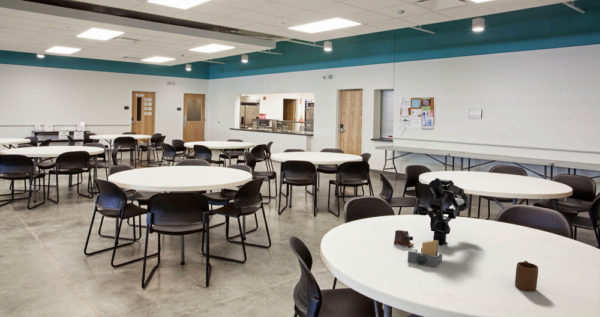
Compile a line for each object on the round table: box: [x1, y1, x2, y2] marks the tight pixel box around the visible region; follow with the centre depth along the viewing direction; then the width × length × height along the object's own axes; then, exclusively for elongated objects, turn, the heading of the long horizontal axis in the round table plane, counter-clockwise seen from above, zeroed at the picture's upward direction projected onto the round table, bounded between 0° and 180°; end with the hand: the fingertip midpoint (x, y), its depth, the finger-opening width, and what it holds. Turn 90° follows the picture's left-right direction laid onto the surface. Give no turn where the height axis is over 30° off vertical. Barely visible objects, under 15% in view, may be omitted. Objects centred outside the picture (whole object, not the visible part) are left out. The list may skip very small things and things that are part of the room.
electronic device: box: [393, 229, 415, 249], centre depth 211 cm, size 4×10×8 cm, turn 44°
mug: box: [514, 260, 539, 292], centre depth 164 cm, size 12×8×9 cm, turn 156°
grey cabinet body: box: [407, 248, 443, 269], centre depth 188 cm, size 12×13×5 cm
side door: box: [420, 240, 439, 257], centre depth 189 cm, size 2×9×9 cm, turn 117°
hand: (432, 226), depth 202 cm, fingers closed
